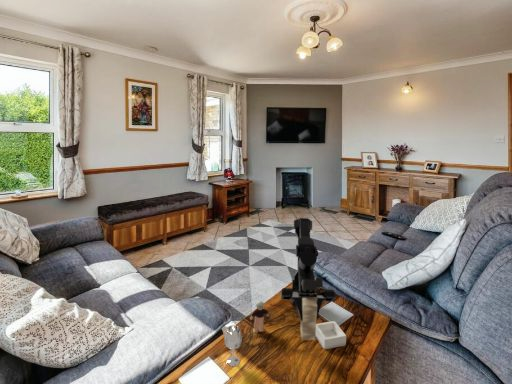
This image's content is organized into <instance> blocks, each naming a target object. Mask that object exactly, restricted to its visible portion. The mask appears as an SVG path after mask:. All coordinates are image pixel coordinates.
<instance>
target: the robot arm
mask: <svg viewBox="0 0 512 384" xmlns="http://www.w3.org/2000/svg"><path fill="white" fill-rule="evenodd" d="M293 230H294V235H295V236H296V238H297V244H296V245H295V257H296V258H297V270H296V273H295V274H294V275H293V279H291V287H289V288H287V287H283V288H282V289H281V290H280V300H284V301H287V300H288V301H290V303H292V304H291V305H292V306H293V307H295V309H296V310H297V313H298V316H299V318H300V322H301V321H303V317H302V298H315V299H316V303H317V319H316V322H318V320H319V319H318V318H319V315H320V309H321V306H322V304H324V303H325V302H334V300H336V298H337V295H336V293H337V292H336V291H335V290H334V289H323V290H322V291H321V292H320V291H318V288H323V287H324V283H323V282H324V281H323V277H322V276H321V277H318V276H317V277H316V278H315V266H316V263H317V261H318V258H317V257H319V253H320V252H319V250H318V248H317V246H316V245H315V242H314V240H313V239H312V238H311V231H312V230H313V220H311V218H307V217H300V218H297V219H294V220H293Z"/></svg>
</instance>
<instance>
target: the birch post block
mask: <svg viewBox="0 0 512 384" xmlns="http://www.w3.org/2000/svg"><path fill="white" fill-rule="evenodd" d="M302 317H303V321H301V320H300V326H299V328H300V331H299V333H300V336H301V340H303V341H304V340H305V341H315V340H316V336H315V334H316V324H317V321H316V319H317V303H316V298H302ZM317 320H318V319H317Z"/></svg>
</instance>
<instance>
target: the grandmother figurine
mask: <svg viewBox="0 0 512 384" xmlns="http://www.w3.org/2000/svg"><path fill="white" fill-rule="evenodd" d="M255 307H256V308H255V310H254V311H253V312H252V313H251V315H250V317H249V320H250V321H252V320H253V319H254V322H253V330H252V332H253V334H258V333H259V332H260V333H263V332H265V329H264V323H265V315H266V317H270V313H269V311H268V310H267V309H266V308H264V307H265V303H264V301H262V300H257V301H256V303H255Z"/></svg>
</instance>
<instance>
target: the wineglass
mask: <svg viewBox="0 0 512 384" xmlns="http://www.w3.org/2000/svg"><path fill="white" fill-rule="evenodd" d="M242 339H243V337H242V331H241V327H239V326H238V325H233V324H232V325H229V326H227V327H226V329H225V333H224V345H225V346H226V348H227V349H228V350H229V349H230V350H231V354H232V355H231V356H229V357H228V358H227V359H226V364H227V363H228V364H229V365H231V366H230V367H232V366H233V367H236V366H239V364H240V363H241V362H240V360H241V359H240V358H239V356H236V355H235V350H236V349H239V348H240V346H241V344H242V342H243V341H242ZM228 364H227V365H228ZM229 365H228V366H229Z"/></svg>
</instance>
